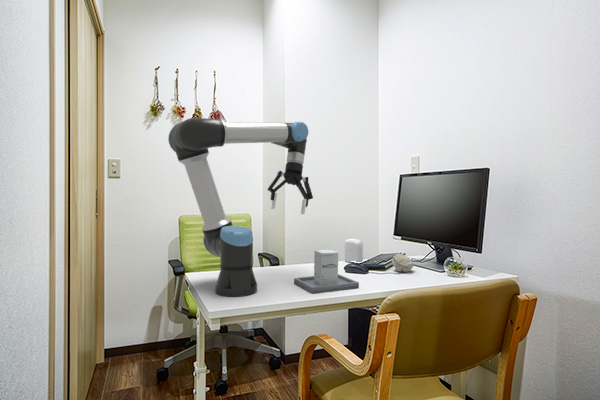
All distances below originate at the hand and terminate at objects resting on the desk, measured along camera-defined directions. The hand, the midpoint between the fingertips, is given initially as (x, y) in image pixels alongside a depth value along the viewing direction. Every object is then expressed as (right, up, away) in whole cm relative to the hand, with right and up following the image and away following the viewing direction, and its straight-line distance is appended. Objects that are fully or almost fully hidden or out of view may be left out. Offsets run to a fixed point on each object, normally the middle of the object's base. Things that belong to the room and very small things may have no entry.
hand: (288, 211), depth 161 cm
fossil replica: (+53, -28, +14) cm, 62 cm away
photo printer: (+33, -28, +34) cm, 55 cm away
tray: (+15, -29, -14) cm, 35 cm away
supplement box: (+15, -28, -14) cm, 35 cm away
